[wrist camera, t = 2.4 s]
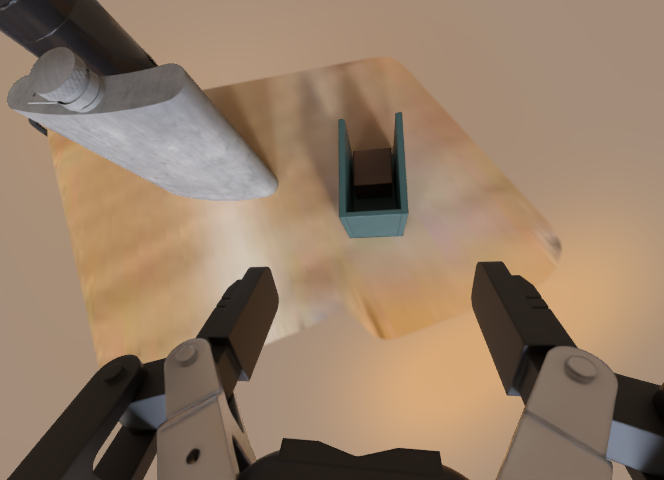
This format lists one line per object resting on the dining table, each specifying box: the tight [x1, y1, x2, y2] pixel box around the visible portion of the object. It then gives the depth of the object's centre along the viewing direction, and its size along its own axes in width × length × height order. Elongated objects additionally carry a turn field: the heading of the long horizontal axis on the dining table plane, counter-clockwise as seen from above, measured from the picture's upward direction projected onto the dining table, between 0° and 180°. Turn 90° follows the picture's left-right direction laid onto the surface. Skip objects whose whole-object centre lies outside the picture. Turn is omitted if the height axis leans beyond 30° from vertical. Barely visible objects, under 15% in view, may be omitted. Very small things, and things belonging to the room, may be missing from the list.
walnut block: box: [353, 148, 393, 199], centre depth 31 cm, size 4×4×4 cm
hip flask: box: [7, 47, 278, 201], centre depth 28 cm, size 16×4×20 cm, turn 85°
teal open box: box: [339, 112, 408, 238], centre depth 30 cm, size 10×6×8 cm, turn 0°
